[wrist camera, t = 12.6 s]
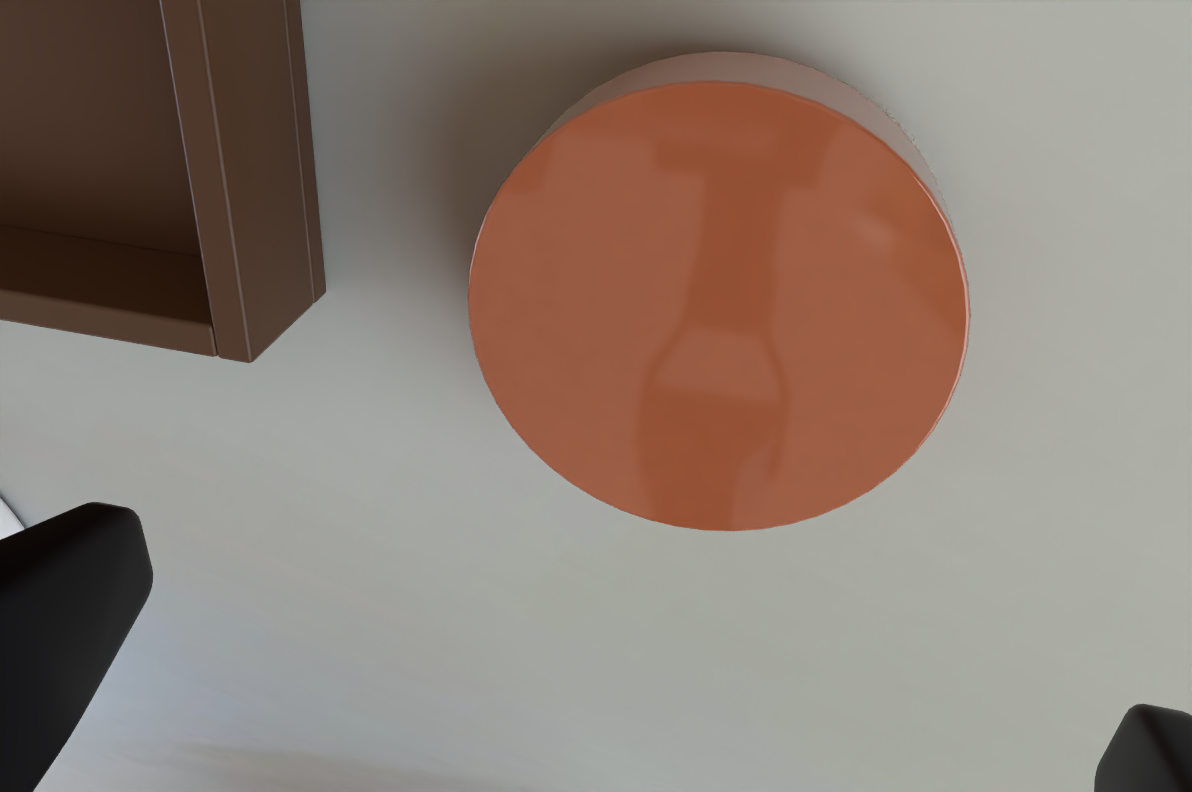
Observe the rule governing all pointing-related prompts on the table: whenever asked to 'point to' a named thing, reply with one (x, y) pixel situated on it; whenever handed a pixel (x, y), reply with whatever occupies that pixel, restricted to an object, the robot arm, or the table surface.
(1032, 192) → the table surface
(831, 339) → the puck terracotta
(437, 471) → the table surface
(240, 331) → the tray
